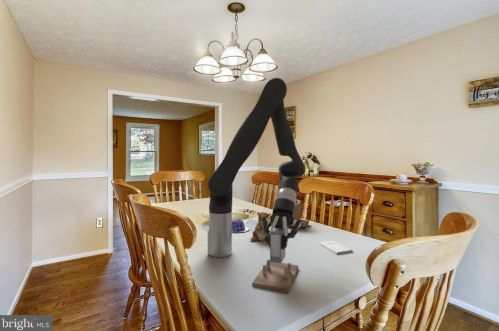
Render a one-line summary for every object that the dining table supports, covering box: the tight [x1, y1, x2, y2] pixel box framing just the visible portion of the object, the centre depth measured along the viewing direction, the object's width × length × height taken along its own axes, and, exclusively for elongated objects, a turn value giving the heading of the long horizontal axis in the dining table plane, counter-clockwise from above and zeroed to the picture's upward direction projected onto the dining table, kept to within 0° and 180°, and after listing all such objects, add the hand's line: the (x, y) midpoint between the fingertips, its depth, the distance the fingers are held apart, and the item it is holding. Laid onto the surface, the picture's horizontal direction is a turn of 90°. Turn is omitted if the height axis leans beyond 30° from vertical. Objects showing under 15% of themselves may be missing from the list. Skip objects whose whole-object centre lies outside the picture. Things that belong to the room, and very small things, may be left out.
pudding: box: [232, 218, 249, 233], centre depth 134 cm, size 12×12×5 cm
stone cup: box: [289, 199, 310, 228], centre depth 140 cm, size 15×12×15 cm
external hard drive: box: [317, 239, 354, 255], centre depth 109 cm, size 2×8×12 cm
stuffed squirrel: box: [250, 211, 272, 242], centre depth 121 cm, size 10×14×13 cm
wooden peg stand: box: [252, 258, 299, 294], centre depth 83 cm, size 17×11×4 cm, turn 159°
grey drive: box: [269, 227, 286, 263], centre depth 83 cm, size 6×4×10 cm, turn 158°
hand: (276, 247), depth 81 cm, fingers closed on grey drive, 3 cm apart
